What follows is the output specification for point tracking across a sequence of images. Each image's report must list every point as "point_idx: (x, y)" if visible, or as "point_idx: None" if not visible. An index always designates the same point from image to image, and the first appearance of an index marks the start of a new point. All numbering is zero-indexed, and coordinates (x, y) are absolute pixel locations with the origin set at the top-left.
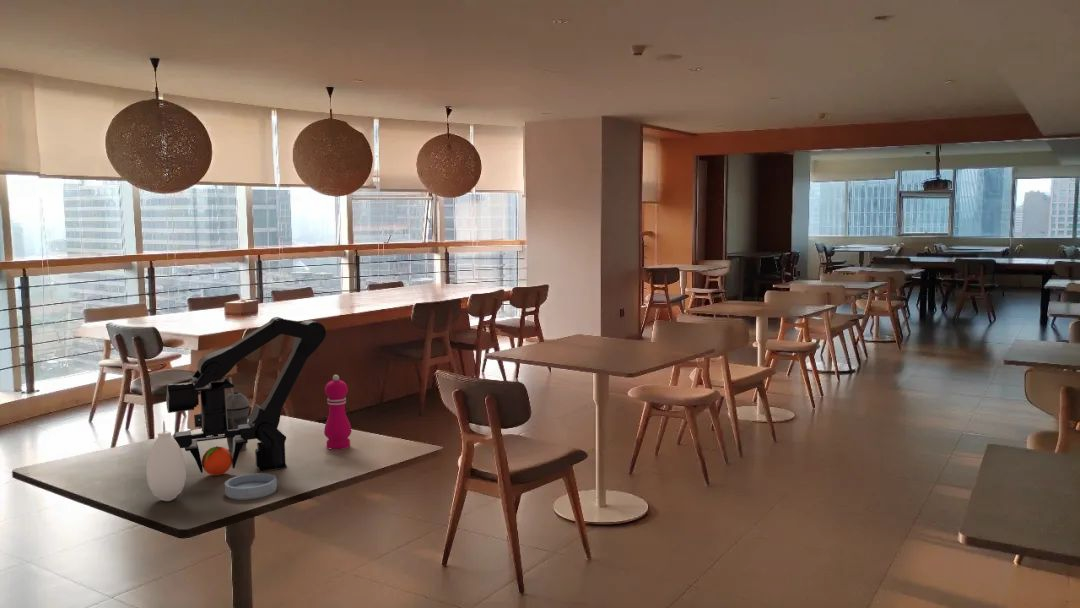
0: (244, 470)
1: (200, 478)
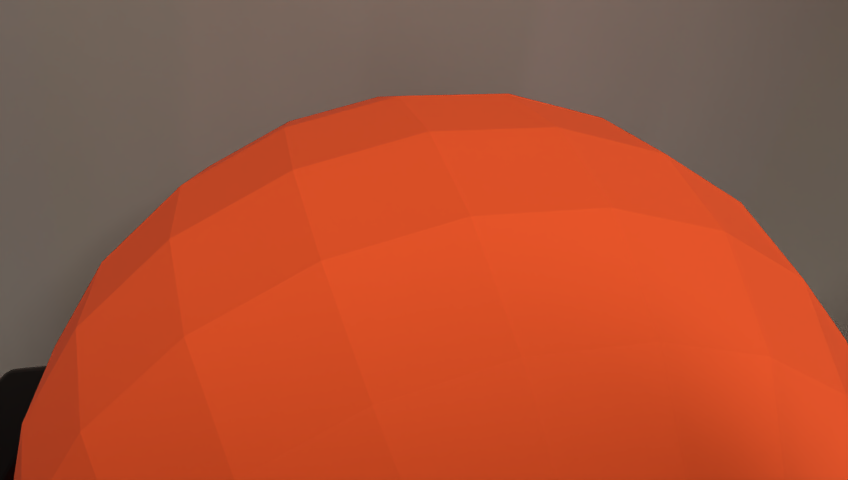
0: (814, 187)
1: (28, 365)
